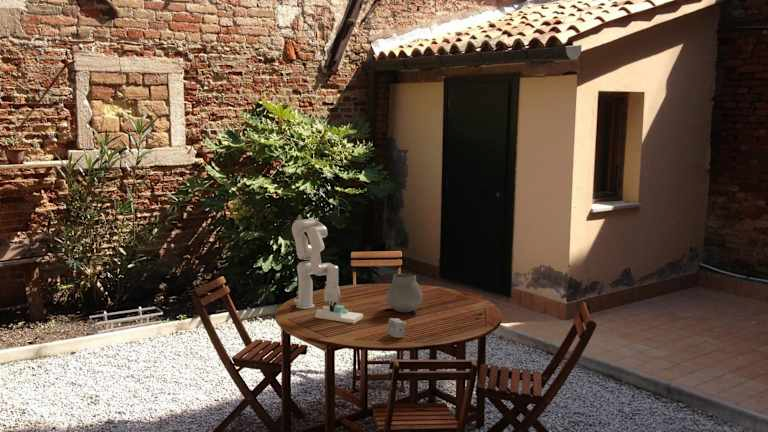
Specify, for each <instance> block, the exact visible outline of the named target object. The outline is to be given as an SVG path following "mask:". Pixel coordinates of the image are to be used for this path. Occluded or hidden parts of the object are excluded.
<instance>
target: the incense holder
mask: <svg viewBox="0 0 768 432" xmlns="http://www.w3.org/2000/svg"><path fill="white" fill-rule="evenodd" d="M407 325H408V324H407V322H406V321H403V320H402V319H400V318H392V317H389V319H388V323H387V330H386V334H387V335H389V336H390V338H395V339H397V338H400V339H405V338H406V335H405V328H406V327H407Z"/></svg>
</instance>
